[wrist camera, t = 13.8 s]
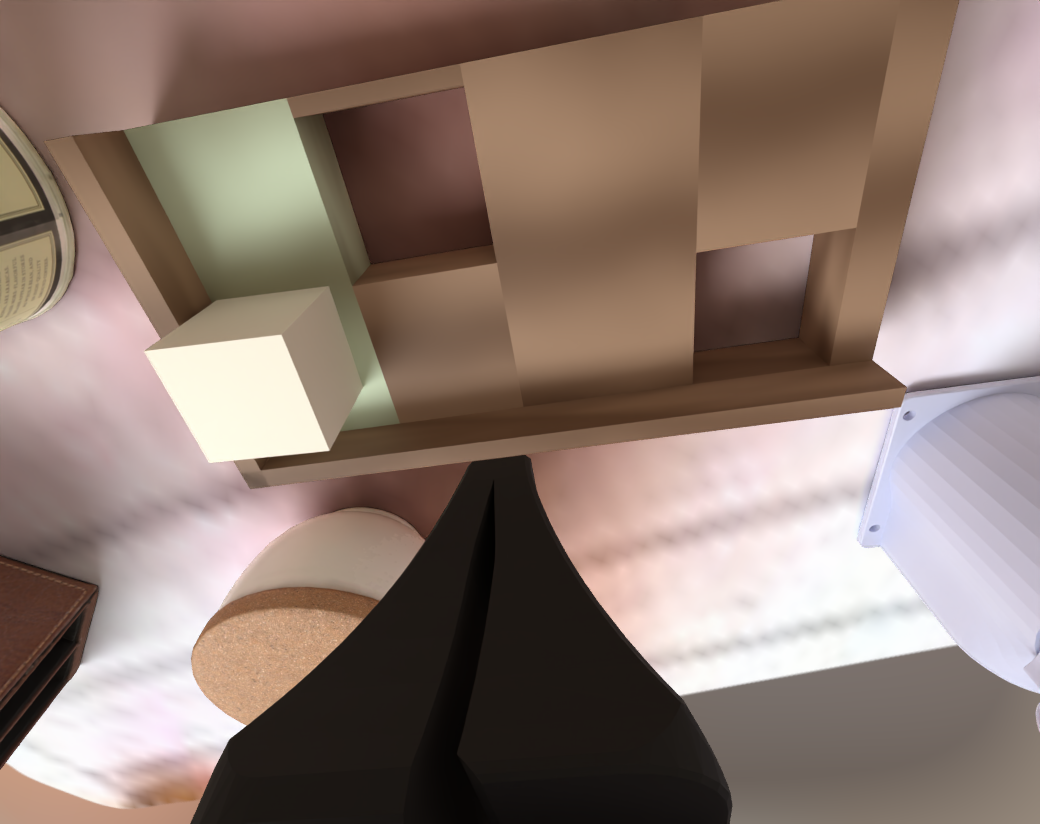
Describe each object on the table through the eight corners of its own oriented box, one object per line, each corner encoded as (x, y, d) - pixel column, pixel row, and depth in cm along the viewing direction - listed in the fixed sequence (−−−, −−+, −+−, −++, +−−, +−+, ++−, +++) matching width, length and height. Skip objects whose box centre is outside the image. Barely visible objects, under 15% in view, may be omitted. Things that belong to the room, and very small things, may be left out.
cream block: (363, 387, 19) (329, 450, 16) (263, 398, 20) (209, 463, 16) (328, 285, 17) (281, 334, 14) (216, 299, 17) (143, 351, 14)
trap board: (833, 349, 21) (901, 407, 17) (294, 423, 23) (250, 489, 19) (904, -20, 15) (1036, -56, 11) (151, 129, 17) (43, 141, 13)
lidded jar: (300, 440, 24) (190, 615, 16) (501, 520, 27) (493, 703, 19) (248, 572, 29) (146, 754, 21) (422, 628, 32) (388, 807, 24)
